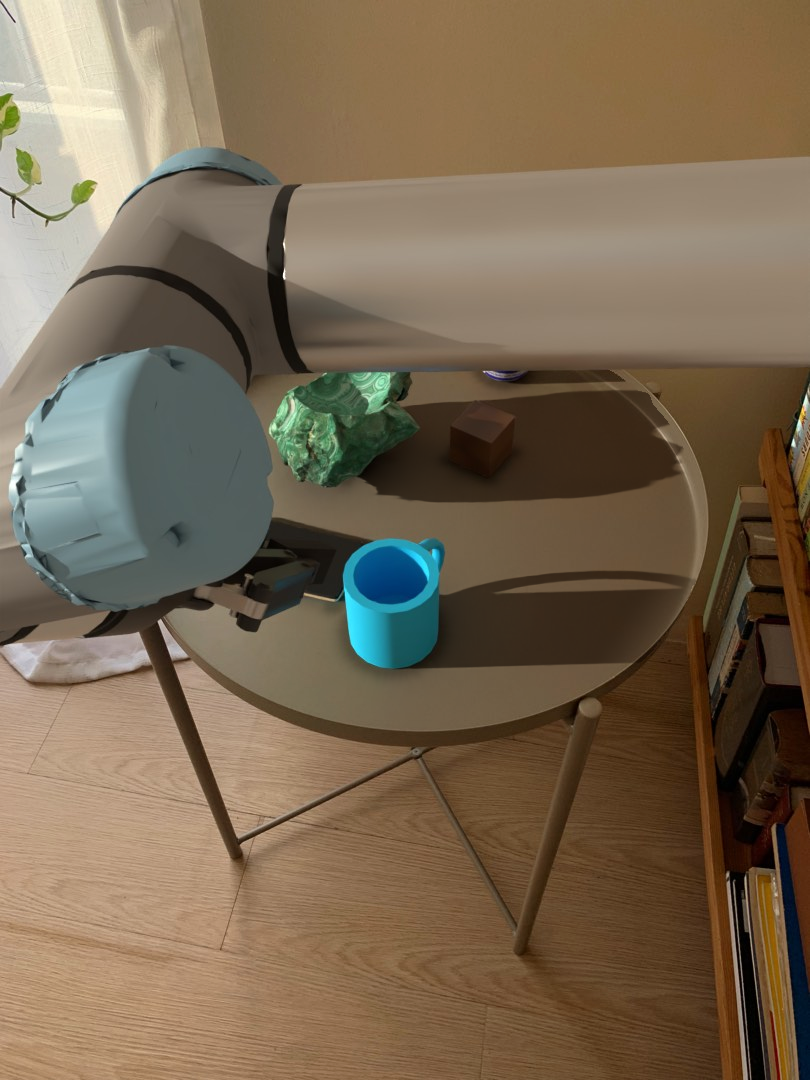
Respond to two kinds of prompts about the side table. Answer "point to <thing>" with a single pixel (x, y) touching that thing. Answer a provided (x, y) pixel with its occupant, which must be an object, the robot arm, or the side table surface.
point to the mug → (393, 600)
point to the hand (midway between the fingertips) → (321, 562)
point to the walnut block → (481, 438)
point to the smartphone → (345, 549)
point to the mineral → (341, 424)
